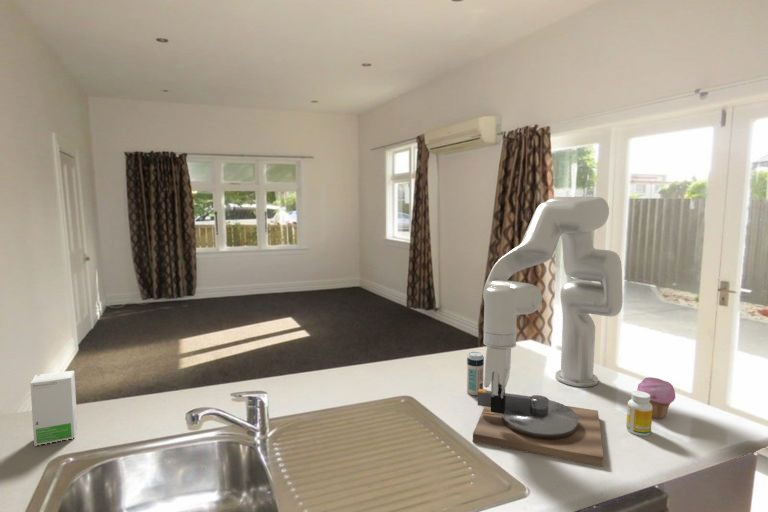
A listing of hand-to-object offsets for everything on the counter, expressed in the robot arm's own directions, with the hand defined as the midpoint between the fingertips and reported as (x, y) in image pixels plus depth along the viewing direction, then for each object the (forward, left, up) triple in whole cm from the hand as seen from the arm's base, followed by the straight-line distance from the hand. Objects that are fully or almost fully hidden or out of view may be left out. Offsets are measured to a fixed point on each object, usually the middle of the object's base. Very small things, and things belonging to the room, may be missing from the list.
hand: (497, 411), depth 112 cm
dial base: (-6, +9, -6) cm, 13 cm away
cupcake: (-25, +37, -6) cm, 45 cm away
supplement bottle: (-14, +32, -6) cm, 36 cm away
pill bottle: (-22, -10, -6) cm, 25 cm away
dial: (-6, +6, -4) cm, 9 cm away
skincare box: (+41, -100, -6) cm, 108 cm away
